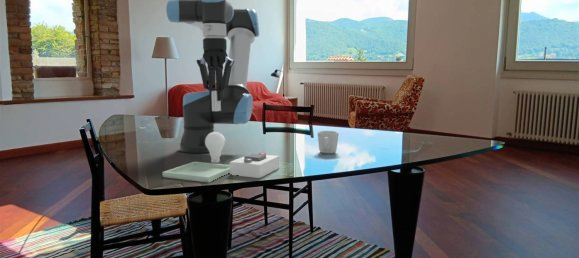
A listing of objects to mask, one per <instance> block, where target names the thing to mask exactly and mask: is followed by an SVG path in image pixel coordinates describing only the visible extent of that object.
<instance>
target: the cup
mask: <svg viewBox="0 0 579 258" xmlns="http://www.w3.org/2000/svg"><path fill="white" fill-rule="evenodd" d="M317 141H318V150H319V152H320V153H321V154H326V155H328V154H329V155H331V154H332V155H333V154H335V153H336V152H337V148H338V143H339V142H338V141H339V132H338V131H333V130H321V131H320V130H319V131H318V132H317Z"/></svg>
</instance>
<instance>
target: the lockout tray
mask: <svg viewBox="0 0 579 258" xmlns="http://www.w3.org/2000/svg"><path fill="white" fill-rule="evenodd" d="M228 173H230V164H222V163H218V164H215V163H212V162H201V161H192V162H189V163H186V164H183V165H180V166H177V167H174V168H170V169H168V170H165V171H162V178H166V179H167V178H168V179H175V180H176V179H177V180H185V181H192V182H193V181H194V182H200V183H211V182H213V180H214V181H216V180H217V178H218V179H220V178H219V177H221V176H223V177H225V176H227V175H229V174H228ZM226 174H227V175H226ZM224 175H225V176H224ZM221 178H222V177H221ZM215 179H216V180H215Z"/></svg>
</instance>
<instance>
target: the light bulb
mask: <svg viewBox="0 0 579 258" xmlns="http://www.w3.org/2000/svg"><path fill="white" fill-rule="evenodd" d="M225 144H226V139H225V136H224V135H223V134H222V133H221V132H218V131H214V132H211V133H209V134H208V135H207V137H206V139H205V145H206V147H207V148H208V150H209V152H208V153H209V155H210V159H211V161H210V163H215V164H220V163H221V158H220V157H221V154H222V151H223V149H224V147H225Z"/></svg>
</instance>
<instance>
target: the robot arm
mask: <svg viewBox="0 0 579 258" xmlns="http://www.w3.org/2000/svg"><path fill="white" fill-rule="evenodd" d="M165 8H166V11H165V12H166V16H167V19H168V21H170V23H178V24H179V23H183V24H184V23H185V24H187V25H189V26H190V25H191V26H193V27H196V28H199V29H200V31H202V36H203V39H202V49H203V54H202V57H201V58H200V59H197V60H196V64H197V66H198V67H199V72H200V75H201V81H202V85H203V88H204V89H205V90H203V91H197V92H196V91H195V92H194V91H193V92H188V93H185V94H184V95H183V97H182V98H183V99H182V115H183V116H182V117H183V133H182V136H181V140H180V143H179V151H180V152H182V153H187V154H200V153H201V154H203V153H210V152H209V150H208V148H207V147H206V145H205V139H206V137H207V135H208V134H209V133H211V132H215V125H216V124H219V125H220V124H221V125H245V124H247V123H249V121H250V120H251V117H252V113H253V109H254V107H253V106H254V98H253V95H252V94H250V90H249V89H248V88H247V85H248V84H247V83H248V75H249V66H250V65H249V64H250V57H251V56H250V54H251V44H253V43H254V42H255V38H258V37H259V36H260V27H259V19H258V14H257V13H258V12H257V11H256V9H252V8H245V9H243V8H239V9H237V8H236V9H235V8H233V6H232V4H231V2H229V1H228V0H168V1H167V3H166V7H165ZM226 37H227V39H228V40H229V41H230V42H229V50H228V49H227V48H228V47H227V46H228V45H227V42H228V41H227V39H226ZM227 50H228V54H227Z"/></svg>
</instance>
